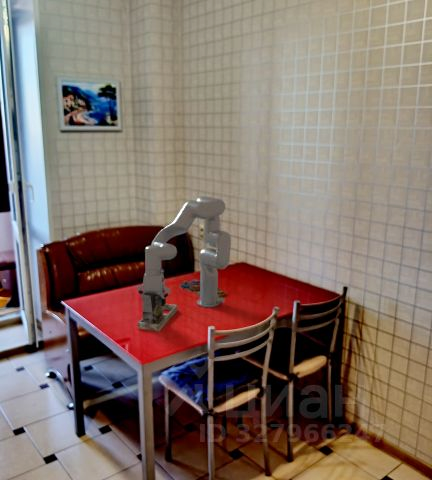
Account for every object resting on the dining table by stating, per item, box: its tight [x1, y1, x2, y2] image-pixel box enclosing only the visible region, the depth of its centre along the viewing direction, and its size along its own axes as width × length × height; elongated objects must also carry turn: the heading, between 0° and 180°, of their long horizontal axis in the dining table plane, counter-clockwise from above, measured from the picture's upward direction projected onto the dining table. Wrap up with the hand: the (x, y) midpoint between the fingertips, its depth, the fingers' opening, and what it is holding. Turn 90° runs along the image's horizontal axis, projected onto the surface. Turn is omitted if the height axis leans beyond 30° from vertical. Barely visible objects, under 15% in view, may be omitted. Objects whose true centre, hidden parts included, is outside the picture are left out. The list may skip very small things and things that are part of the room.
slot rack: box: [137, 303, 179, 332], centre depth 233 cm, size 11×27×3 cm, turn 166°
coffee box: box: [141, 293, 164, 324], centre depth 225 cm, size 9×6×16 cm
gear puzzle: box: [178, 279, 227, 297], centre depth 275 cm, size 31×16×4 cm, turn 48°
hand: (153, 304), depth 225 cm, fingers open, 9 cm apart
